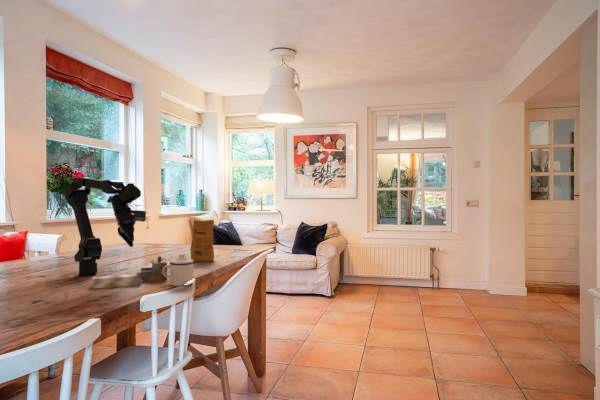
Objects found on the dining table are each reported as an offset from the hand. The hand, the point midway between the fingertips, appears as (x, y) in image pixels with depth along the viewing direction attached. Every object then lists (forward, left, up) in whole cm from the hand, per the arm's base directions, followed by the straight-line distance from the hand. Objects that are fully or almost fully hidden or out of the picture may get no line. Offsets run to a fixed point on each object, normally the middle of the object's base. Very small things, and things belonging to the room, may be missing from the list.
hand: (132, 243), depth 156 cm
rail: (-6, -5, -15) cm, 17 cm away
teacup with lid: (+16, -11, -15) cm, 25 cm away
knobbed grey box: (+8, +3, -15) cm, 17 cm away
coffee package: (+36, +41, -15) cm, 57 cm away
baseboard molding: (+10, +26, -16) cm, 32 cm away
